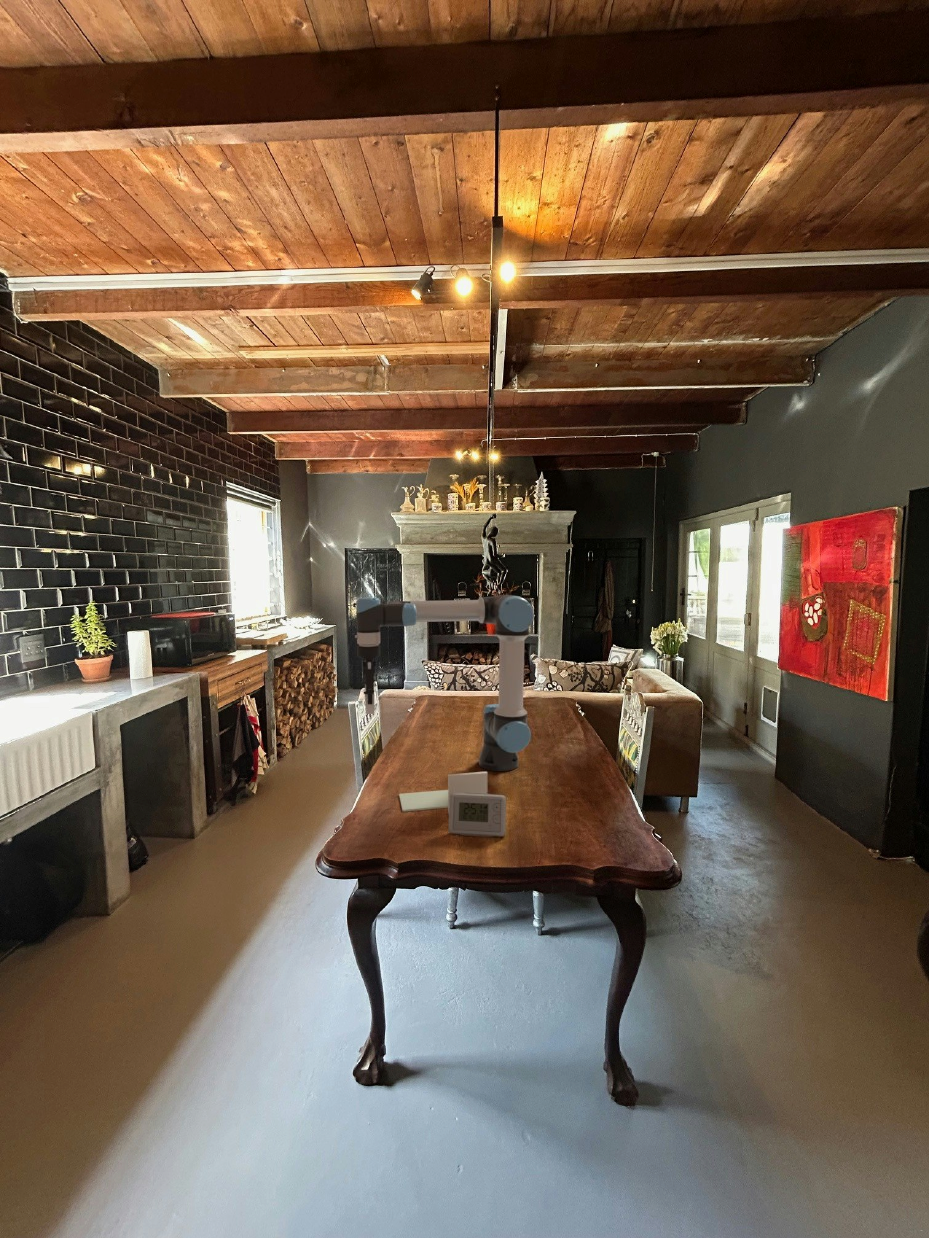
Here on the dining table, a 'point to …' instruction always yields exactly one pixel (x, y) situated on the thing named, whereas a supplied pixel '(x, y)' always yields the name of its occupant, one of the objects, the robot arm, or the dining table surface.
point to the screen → (467, 783)
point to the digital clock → (477, 814)
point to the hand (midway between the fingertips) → (369, 708)
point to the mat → (424, 800)
